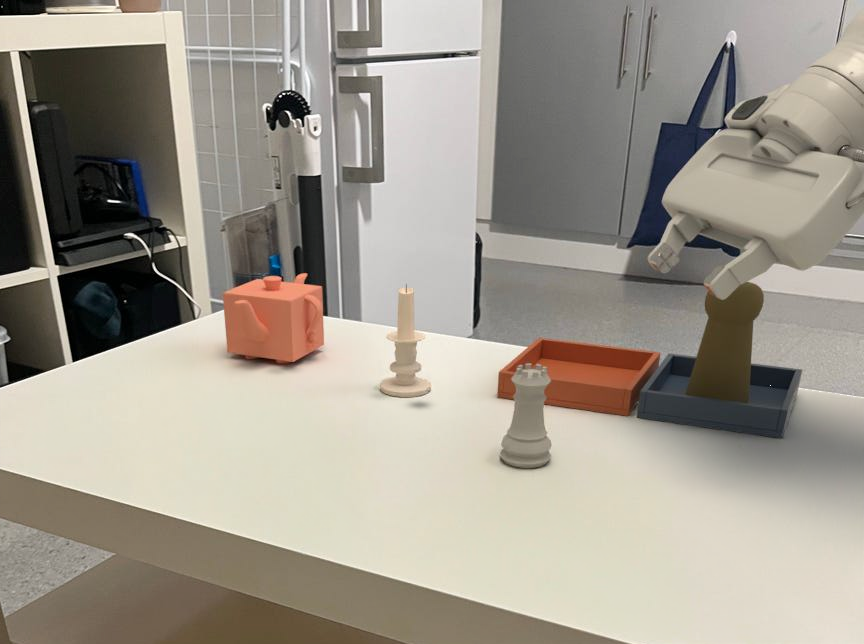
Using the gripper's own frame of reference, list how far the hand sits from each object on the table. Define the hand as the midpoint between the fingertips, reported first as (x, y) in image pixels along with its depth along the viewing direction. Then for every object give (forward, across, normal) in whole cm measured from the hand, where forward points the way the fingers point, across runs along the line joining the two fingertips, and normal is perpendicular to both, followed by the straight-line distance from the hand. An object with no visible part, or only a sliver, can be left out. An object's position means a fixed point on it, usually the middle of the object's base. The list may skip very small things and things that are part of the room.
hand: (682, 279), depth 82 cm
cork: (+2, +9, -18) cm, 20 cm away
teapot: (+30, +36, +10) cm, 48 cm away
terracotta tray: (+10, +17, -10) cm, 22 cm away
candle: (+22, +21, +2) cm, 31 cm away
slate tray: (+2, +8, -18) cm, 20 cm away
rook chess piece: (+19, 0, -2) cm, 19 cm away
